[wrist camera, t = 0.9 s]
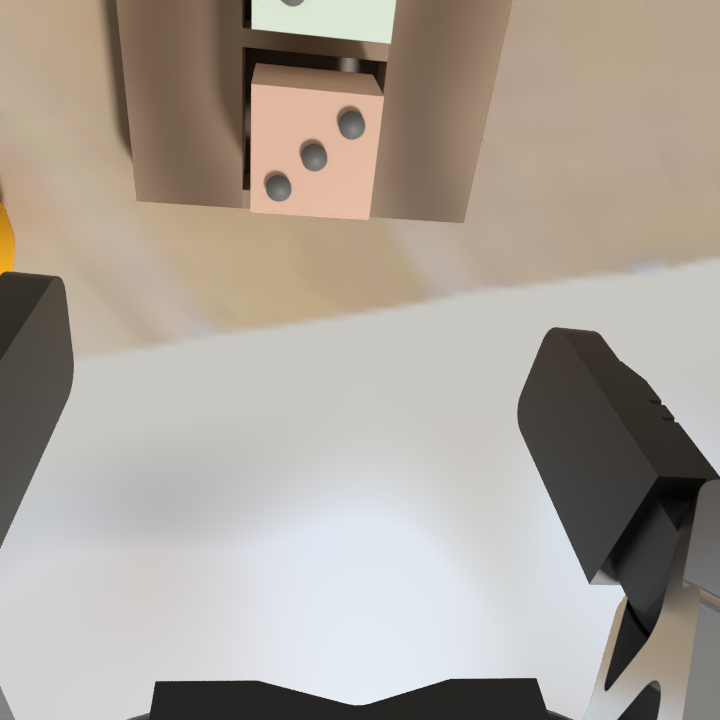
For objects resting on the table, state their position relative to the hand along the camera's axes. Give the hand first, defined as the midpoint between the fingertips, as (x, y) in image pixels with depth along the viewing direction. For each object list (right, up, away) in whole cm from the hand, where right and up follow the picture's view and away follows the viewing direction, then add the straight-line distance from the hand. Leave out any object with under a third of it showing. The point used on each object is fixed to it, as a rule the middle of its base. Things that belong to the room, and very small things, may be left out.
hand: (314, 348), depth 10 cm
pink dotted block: (-1, +9, +14) cm, 17 cm away
